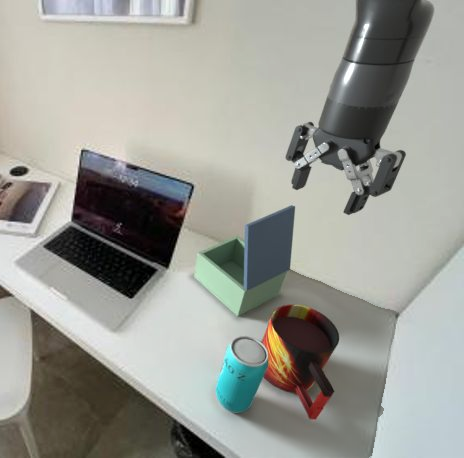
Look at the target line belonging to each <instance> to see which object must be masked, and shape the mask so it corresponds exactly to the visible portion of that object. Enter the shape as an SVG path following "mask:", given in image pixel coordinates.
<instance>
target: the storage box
mask: <svg viewBox="0 0 464 458" xmlns="http://www.w3.org/2000/svg"><path fill="white" fill-rule="evenodd" d="M244 249H245V239H243V238H242V237H240V236H239V235H235V236H232V237H230V238H228V239H226V240H224V241H221V242H218V243H217V244H214V245H212V246H210V247H208V248H205V249H203V250H201V251H198V252H197V254H196V261H195V268H194V274H193V277H194V279H196V280H197V281H198V282H199V283H200V284H201V285H202V286H203V287H204V288H205V289H207V290H208V291H209V292H210V293H211V294H212V295H213V296H214V297H216V298H217V300H219V301H220V302H221V303H222V304H223V305H224V306H225V307H227V308H228V309H229V311H231V312H232V313H233V314H234V315H235V316H236V317H240V316H241V315H243V314H245V313H248V312H249V311H251V310H253V309H255V308H257V307H259V306H261V305H263V304H264V303H266V302H269V301H270V300H272V299H274V298H277V297H278V296H279V294H280V292H281V289H282V286H283V283H284V281H285V279H286V276H287V274H288V271H286V272H284V273H282V274H280V275H278V276H276V277H274V278H272V279H270V280H268V281H266V282H264V283H262V284H260V285H258V286H256V287H254V288H252V289H250V290H248V291H246V290H245V289H244Z"/></svg>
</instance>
